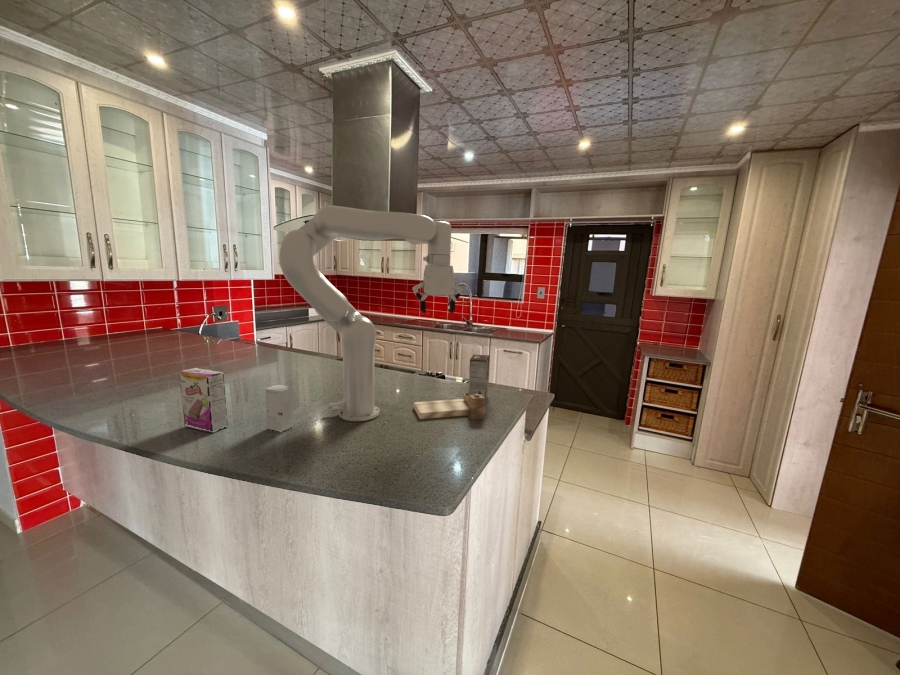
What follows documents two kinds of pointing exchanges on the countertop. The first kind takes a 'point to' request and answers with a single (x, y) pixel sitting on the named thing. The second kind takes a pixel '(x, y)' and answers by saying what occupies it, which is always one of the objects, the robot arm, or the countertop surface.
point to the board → (441, 408)
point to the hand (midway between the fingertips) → (437, 312)
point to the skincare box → (279, 407)
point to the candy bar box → (203, 398)
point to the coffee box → (479, 375)
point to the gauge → (475, 405)
